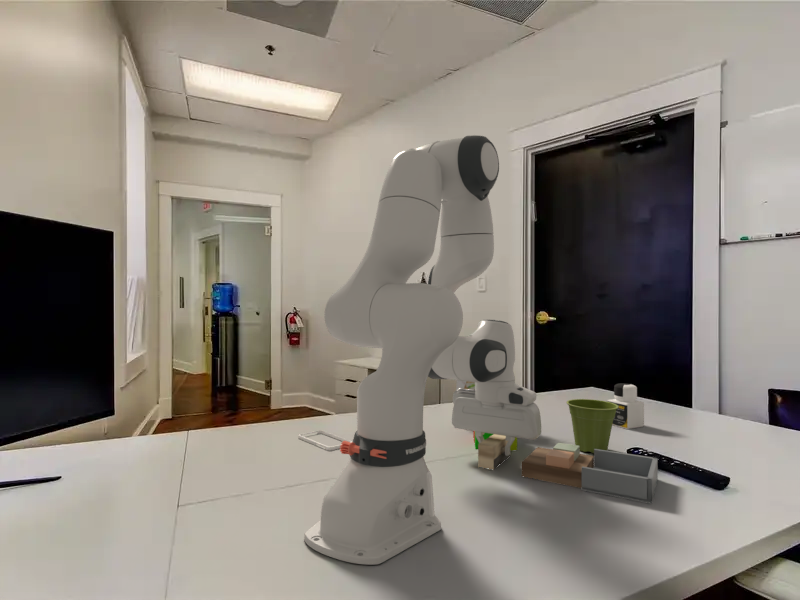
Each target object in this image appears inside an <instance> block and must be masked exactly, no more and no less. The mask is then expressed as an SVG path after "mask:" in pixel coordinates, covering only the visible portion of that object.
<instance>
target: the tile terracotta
mask: <svg viewBox="0 0 800 600" xmlns="http://www.w3.org/2000/svg"><path fill="white" fill-rule="evenodd" d="M550 449H551V450H550V451H549V452H548V453H547V454H546V465H550V466H556V467H562V468H567V469H569V468H570V467H571V466H572V464H573V463H574V453H573V452H567V451H560V450H554V449H553V448H550Z"/></svg>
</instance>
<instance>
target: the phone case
mask: <svg viewBox="0 0 800 600" xmlns="http://www.w3.org/2000/svg"><path fill="white" fill-rule="evenodd" d="M313 433H316V435H324V436H327V437H329V438H333V439H335V440H337V441H340V442H343V441H348V442H350V443H351V442H353V440H349V439H347V438H344V437H341V436H339V435H335V434H334V433H330V432H328V431H325V430H321V429H320V430H315V431H309V432H304V433H300V434H298V436H297V437H298V439H299V440H301V441H304V442H306V443H309V444H310V445H313V446H317V445H318V446H320V447H323V448H324V450H326V451H330V452H331V451H334V450H335V451H336V450H338V449H339V450H340V448H341V447H340V445H342V444H341V443H340V444H337V445H331V446H329V445H326V444H323V443H321V442H318V441H315V440H314V439H311V438H308V437H305V435H309V434H313Z"/></svg>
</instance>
